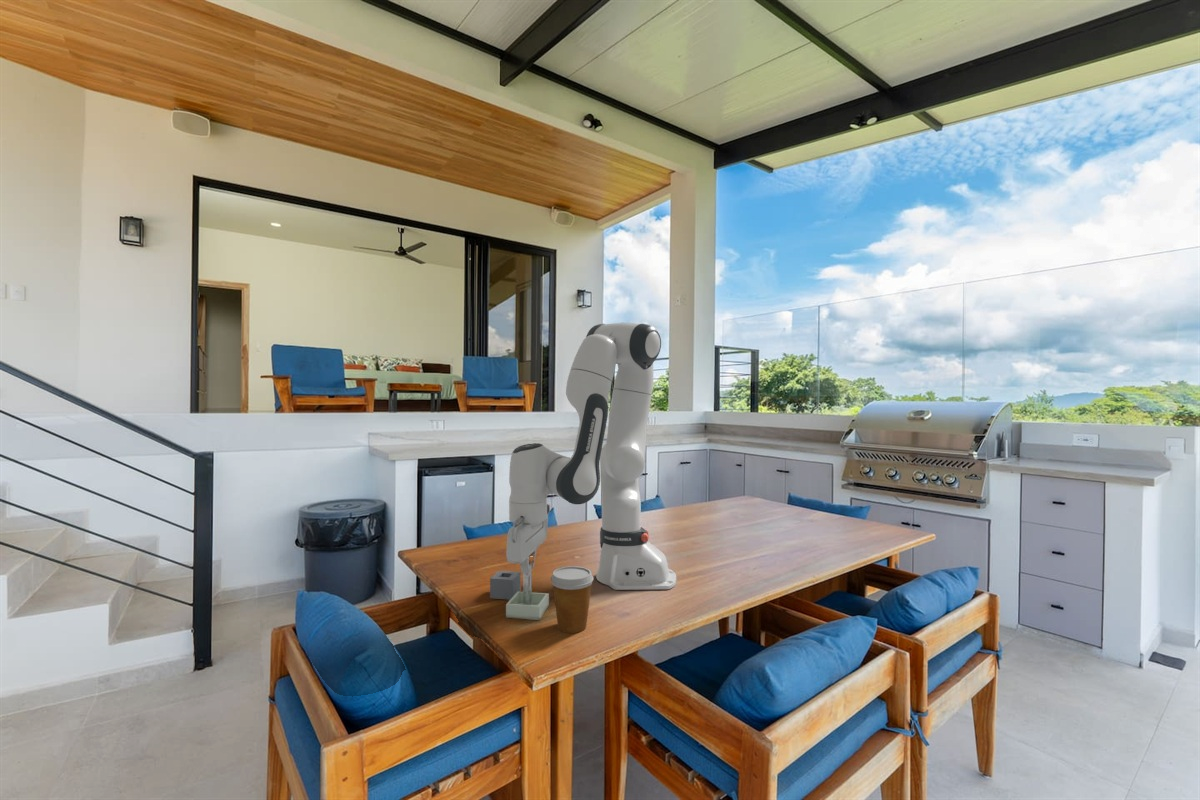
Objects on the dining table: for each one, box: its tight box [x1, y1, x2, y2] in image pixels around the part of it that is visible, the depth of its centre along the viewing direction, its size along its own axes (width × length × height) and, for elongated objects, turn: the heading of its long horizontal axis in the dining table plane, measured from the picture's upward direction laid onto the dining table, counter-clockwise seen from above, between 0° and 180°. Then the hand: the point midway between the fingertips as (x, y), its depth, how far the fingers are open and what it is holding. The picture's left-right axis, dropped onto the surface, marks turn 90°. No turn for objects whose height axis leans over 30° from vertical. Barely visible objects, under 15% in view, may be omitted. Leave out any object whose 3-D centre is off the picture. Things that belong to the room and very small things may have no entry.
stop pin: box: [522, 554, 535, 605], centre depth 119 cm, size 3×3×12 cm
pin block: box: [489, 570, 522, 601], centre depth 129 cm, size 6×6×5 cm
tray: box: [505, 591, 550, 621], centre depth 119 cm, size 8×8×3 cm
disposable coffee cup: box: [550, 565, 595, 634], centre depth 111 cm, size 10×10×12 cm
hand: (527, 570), depth 119 cm, fingers closed on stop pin, 2 cm apart
